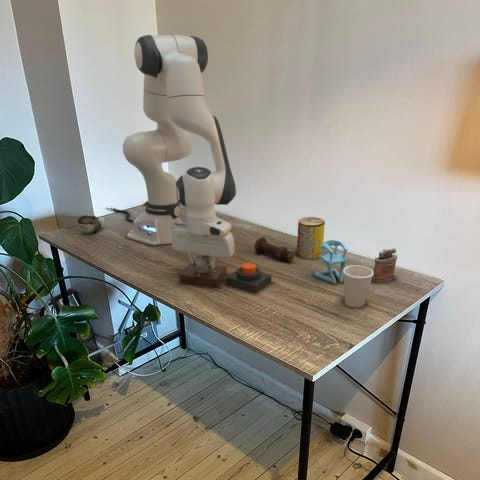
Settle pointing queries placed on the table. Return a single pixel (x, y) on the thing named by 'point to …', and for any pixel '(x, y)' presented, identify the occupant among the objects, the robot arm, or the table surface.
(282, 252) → the bolt
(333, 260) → the chair
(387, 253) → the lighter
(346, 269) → the dixie cup
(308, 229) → the beverage can
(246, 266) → the button
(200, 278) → the dial base
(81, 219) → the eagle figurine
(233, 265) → the table surface
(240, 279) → the button box
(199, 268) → the knob
